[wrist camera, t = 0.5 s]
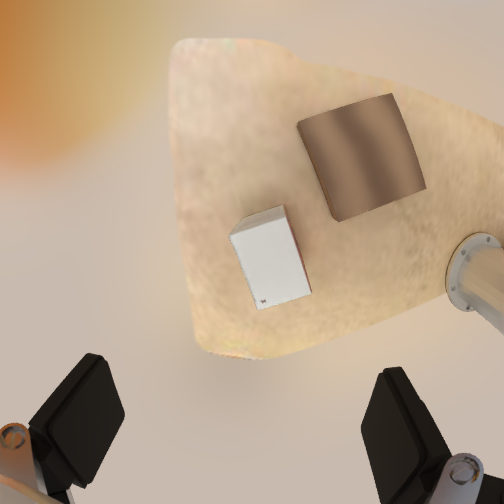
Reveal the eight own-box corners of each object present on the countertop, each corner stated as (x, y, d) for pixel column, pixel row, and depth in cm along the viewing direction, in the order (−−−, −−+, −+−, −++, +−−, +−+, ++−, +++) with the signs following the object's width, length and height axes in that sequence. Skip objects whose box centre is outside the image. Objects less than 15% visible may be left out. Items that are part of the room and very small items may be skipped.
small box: (303, 262, 37) (314, 296, 27) (262, 276, 38) (257, 313, 28) (283, 202, 35) (287, 214, 25) (240, 217, 36) (227, 235, 26)
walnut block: (380, 100, 31) (391, 92, 27) (412, 186, 33) (426, 188, 30) (296, 126, 33) (299, 121, 29) (332, 216, 35) (338, 222, 32)
